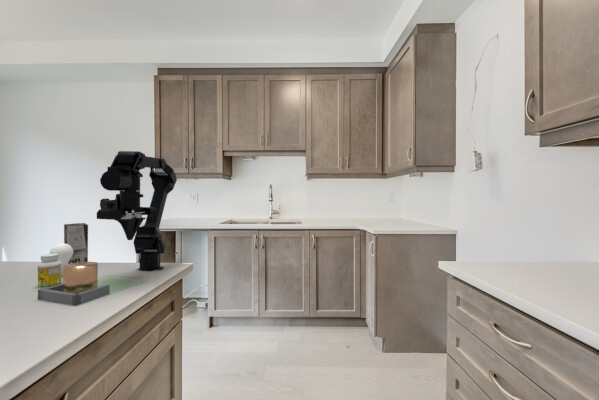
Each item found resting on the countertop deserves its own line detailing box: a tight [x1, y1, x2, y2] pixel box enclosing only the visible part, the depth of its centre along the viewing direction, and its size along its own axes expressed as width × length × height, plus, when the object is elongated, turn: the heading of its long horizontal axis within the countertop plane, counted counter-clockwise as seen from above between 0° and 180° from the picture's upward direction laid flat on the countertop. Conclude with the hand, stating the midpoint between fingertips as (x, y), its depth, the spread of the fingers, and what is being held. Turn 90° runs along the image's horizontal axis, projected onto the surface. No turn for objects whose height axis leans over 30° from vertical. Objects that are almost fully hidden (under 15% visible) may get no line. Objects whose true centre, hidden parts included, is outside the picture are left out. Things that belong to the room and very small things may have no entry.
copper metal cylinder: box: [62, 261, 99, 294], centre depth 81 cm, size 8×8×8 cm
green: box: [37, 276, 147, 307], centre depth 86 cm, size 22×14×1 cm, turn 163°
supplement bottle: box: [37, 253, 63, 289], centre depth 89 cm, size 5×5×10 cm
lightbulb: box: [49, 242, 73, 278], centre depth 100 cm, size 6×6×11 cm
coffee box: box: [63, 222, 89, 264], centre depth 111 cm, size 9×6×16 cm
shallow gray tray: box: [37, 282, 111, 307], centre depth 80 cm, size 9×13×2 cm
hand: (129, 239), depth 96 cm, fingers closed
